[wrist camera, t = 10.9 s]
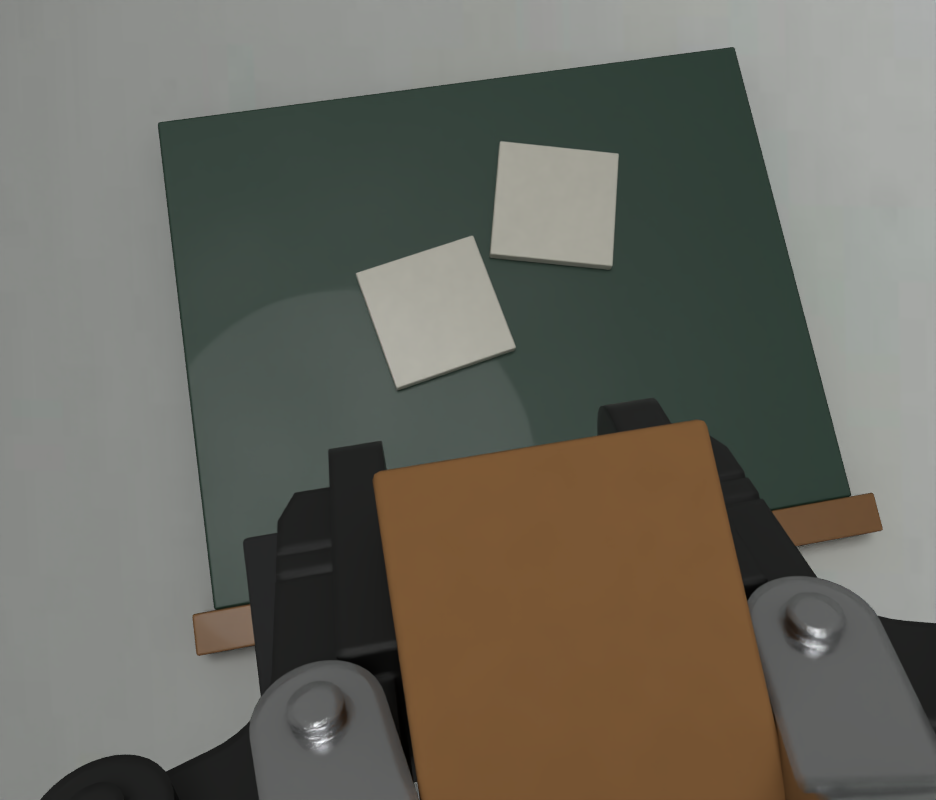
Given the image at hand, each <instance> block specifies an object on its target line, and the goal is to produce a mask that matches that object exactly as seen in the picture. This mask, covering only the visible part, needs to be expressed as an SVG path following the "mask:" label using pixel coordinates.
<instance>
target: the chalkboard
mask: <svg viewBox="0 0 936 800" xmlns="http://www.w3.org/2000/svg"><path fill="white" fill-rule="evenodd" d="M158 130H159V139H160V147H161V156H162V164H163V173H164V182H165V190H166V199H167V207H168V216H169V225H170V233H171V242H172V250H173V259H174V267H175V276H176V285H177V293H178V302H179V310H180V319H181V328H182V336H183V345H184V353H185V362H186V370H187V379H188V388H189V396H190V405H191V413H192V422H193V431H194V439H195V448H196V456H197V465H198V473H199V482H200V491H201V499H202V508H203V516H204V525H205V533H206V542H207V551H208V559H209V568H210V576H211V585H212V594H213V602H214V608H215V609H216V610H214V611H208V612H203V613H197V614H194V615H193V616H192V618H193V627H194V635H195V644H196V653H197V655H198V656H200V655H206V654H211V653H217V652H222V651H228V650H233V649H238V648H244V647H249V646H255V642H254V634H253V625H252V617H251V608H250V600H249V591H248V583H247V574H246V566H245V557H244V549H243V541H244V540H245V539H246V538H249V537H255V536H261V535H267V534H273V533H277V524H278V520H279V518H280V516H281V515H282V513H283V511H284V510H285V508H286V506H287V504H288V503H289V501H290V499H291V498H292V496H293V494H294V493H296V492H302V491H308V490H314V489H320V488H326V487H329V462H328V450H329V449H332V448H338V447H345V446H351V445H357V444H363V443H370V442H376V441H382V444H383V450H384V455H385V461H386V467H387V470H389V469H396V468H402V467H408V466H414V465H420V464H426V463H432V462H439V461H445V460H451V459H457V458H463V457H469V456H476V455H482V454H488V453H494V452H500V451H506V450H512V449H519V448H525V447H531V446H537V445H543V444H549V443H556V442H562V441H568V440H574V439H580V438H586V437H592V436H597V419H598V411H599V408H600V406H603V405H609V404H615V403H622V402H628V401H634V400H640V399H647V398H655V399H656V400H657V401H658V403H659V404H660V406H661V407H662V409H663V411H664V412H665V414H666V415H667V417H668V419H669V420H670V422H671V423H679V422H685V421H691V420H702V421H704V422H705V423H706V425H707V427H708V432H709V435H710V436H712V437H713V438H715V439H716V440H718V441H719V442H721V443H722V444H724V445H725V446H727V447H728V449H729V450H730V451H731V453H732V454H733V456H734V457H735V459H736V460H737V462H738V463H739V465H740V466H741V467H742V469H743V470H744V472H745V477H746V478H747V477H748V478H749V479H750V481H751V482H752V483H753V485H754V486H755V488H756V489H757V491H758V492H759V496H760V499H764V501H765V502H766V504H767V505H768V507H769V508H770V510H771V511H772V513H773V514H774V515H775V517H776V518H777V520H778V521H779V523H780V524H781V526H782V527H783V529H784V530H785V531H786V533H787V534H788V536H789V537H790V539H791V540H792V542H793V543H794V545H795V546H801V545H806V544H812V543H817V542H823V541H828V540H834V539H839V538H845V537H850V536H856V535H861V534H866V533H872V532H877V531H881V530H883V528H882V524H881V520H880V517H879V513H878V509H877V505H876V502H875V498H874V494H873V493H868V494H862V495H856V496H851V492H850V488H849V484H848V480H847V477H846V473H845V469H844V465H843V461H842V458H841V454H840V450H839V446H838V442H837V438H836V435H835V431H834V427H833V423H832V419H831V415H830V412H829V408H828V404H827V400H826V396H825V392H824V389H823V385H822V381H821V377H820V373H819V370H818V366H817V362H816V358H815V354H814V350H813V347H812V343H811V339H810V335H809V331H808V327H807V324H806V320H805V316H804V312H803V308H802V304H801V301H800V297H799V293H798V289H797V285H796V282H795V278H794V274H793V270H792V266H791V262H790V259H789V255H788V251H787V247H786V243H785V239H784V236H783V232H782V228H781V224H780V220H779V216H778V213H777V209H776V205H775V201H774V197H773V194H772V190H771V186H770V182H769V178H768V174H767V171H766V167H765V163H764V159H763V155H762V151H761V148H760V144H759V140H758V136H757V132H756V128H755V125H754V121H753V117H752V113H751V109H750V106H749V102H748V98H747V94H746V90H745V86H744V83H743V79H742V75H741V71H740V67H739V63H738V60H737V56H736V52H735V48H734V47H730V48H723V49H715V50H708V51H700V52H692V53H685V54H677V55H669V56H662V57H654V58H647V59H639V60H631V61H624V62H616V63H609V64H601V65H593V66H586V67H578V68H570V69H563V70H555V71H548V72H540V73H532V74H525V75H517V76H509V77H502V78H494V79H487V80H479V81H471V82H464V83H456V84H448V85H441V86H433V87H426V88H418V89H410V90H403V91H395V92H388V93H380V94H372V95H365V96H357V97H349V98H342V99H334V100H327V101H319V102H311V103H304V104H296V105H288V106H281V107H273V108H266V109H258V110H250V111H243V112H235V113H227V114H220V115H212V116H205V117H197V118H189V119H182V120H174V121H167V122H160V123H158ZM500 141H503V142H513V143H522V144H532V145H541V146H550V147H560V148H569V149H579V150H588V151H598V152H607V153H617V154H619V160H618V178H617V196H616V214H615V232H614V250H613V266H612V267H611V269H610V270H606V269H596V268H586V267H576V266H566V265H556V264H546V263H537V262H527V261H517V260H507V259H497V258H490V256H489V255H490V244H491V232H492V221H493V209H494V198H495V186H496V175H497V163H498V152H499V144H500ZM469 236H473V237H474V239H475V242H476V244H477V247H478V249H479V252H480V255H481V257H482V260H483V262H484V265H485V268H486V270H487V273H488V275H489V278H490V281H491V283H492V286H493V288H494V291H495V294H496V296H497V299H498V301H499V304H500V307H501V309H502V312H503V314H504V317H505V320H506V322H507V325H508V327H509V330H510V333H511V335H512V338H513V340H514V343H515V346H516V348H515V350H514V351H512V352H509V353H506V354H503V355H500V356H497V357H494V358H491V359H489V360H486V361H483V362H480V363H477V364H474V365H471V366H468V367H465V368H462V369H459V370H456V371H453V372H451V373H448V374H445V375H442V376H439V377H436V378H433V379H430V380H427V381H424V382H421V383H418V384H415V385H413V386H410V387H407V388H404V389H401V390H396V387H395V385H394V382H393V379H392V376H391V373H390V371H389V368H388V365H387V362H386V359H385V356H384V354H383V351H382V348H381V345H380V342H379V340H378V337H377V334H376V331H375V328H374V326H373V323H372V320H371V317H370V314H369V311H368V309H367V306H366V303H365V300H364V297H363V295H362V292H361V289H360V286H359V283H358V281H357V278H356V273H358V272H361V271H364V270H367V269H370V268H373V267H376V266H379V265H382V264H386V263H389V262H392V261H395V260H398V259H401V258H404V257H407V256H410V255H413V254H416V253H420V252H423V251H426V250H429V249H432V248H435V247H438V246H441V245H444V244H447V243H450V242H454V241H457V240H460V239H463V238H466V237H469ZM849 496H851V497H849Z"/></svg>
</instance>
